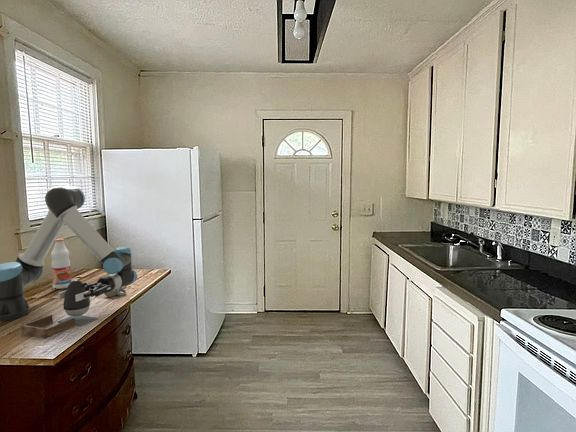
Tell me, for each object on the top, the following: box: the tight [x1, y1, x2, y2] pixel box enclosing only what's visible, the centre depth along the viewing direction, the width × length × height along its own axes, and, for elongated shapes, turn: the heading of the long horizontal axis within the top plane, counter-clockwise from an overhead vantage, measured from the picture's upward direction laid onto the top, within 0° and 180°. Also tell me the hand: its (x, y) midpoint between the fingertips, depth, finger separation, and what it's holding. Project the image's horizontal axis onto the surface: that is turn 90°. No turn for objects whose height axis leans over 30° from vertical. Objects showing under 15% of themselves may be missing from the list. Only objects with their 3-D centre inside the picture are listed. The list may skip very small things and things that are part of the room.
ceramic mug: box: [104, 287, 127, 298], centre depth 200 cm, size 11×8×8 cm
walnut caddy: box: [20, 314, 76, 339], centre depth 153 cm, size 14×13×4 cm
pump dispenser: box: [62, 279, 91, 317], centre depth 163 cm, size 10×10×15 cm
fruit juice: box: [50, 238, 72, 290], centre depth 216 cm, size 9×9×28 cm
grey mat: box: [57, 314, 98, 327], centre depth 164 cm, size 13×9×1 cm
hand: (67, 297), depth 159 cm, fingers closed on pump dispenser, 9 cm apart
